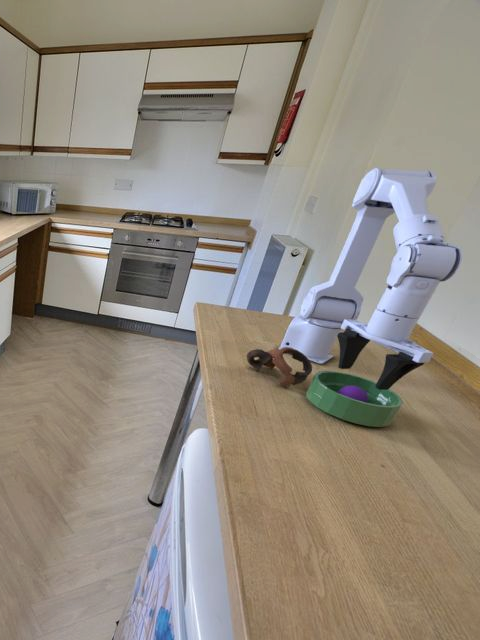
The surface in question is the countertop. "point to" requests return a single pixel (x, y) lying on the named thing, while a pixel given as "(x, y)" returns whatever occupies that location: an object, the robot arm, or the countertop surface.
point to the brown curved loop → (281, 364)
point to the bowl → (372, 413)
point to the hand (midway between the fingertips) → (362, 377)
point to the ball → (354, 393)
